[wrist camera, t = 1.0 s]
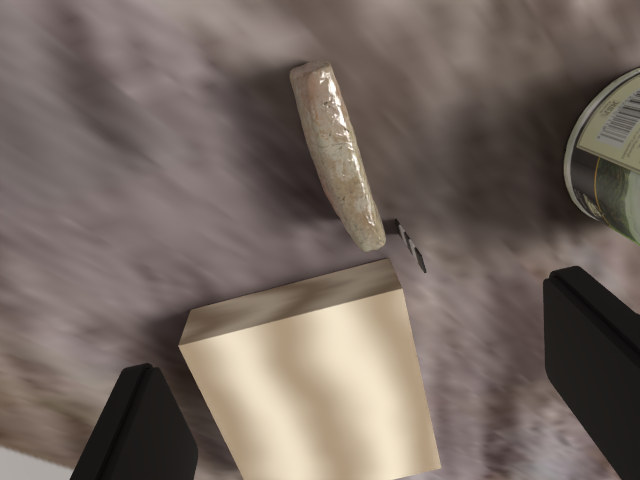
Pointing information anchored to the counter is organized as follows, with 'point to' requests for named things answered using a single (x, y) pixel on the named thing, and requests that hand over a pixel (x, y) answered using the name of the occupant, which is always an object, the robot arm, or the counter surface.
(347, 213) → the stone tablet
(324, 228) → the counter surface
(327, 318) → the birch block
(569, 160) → the coffee can
